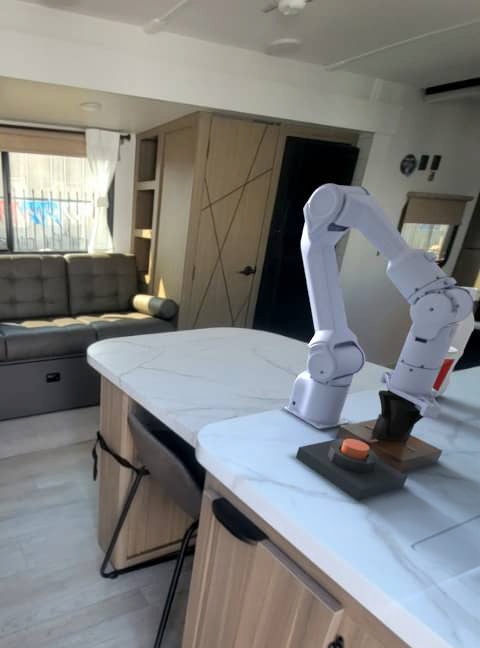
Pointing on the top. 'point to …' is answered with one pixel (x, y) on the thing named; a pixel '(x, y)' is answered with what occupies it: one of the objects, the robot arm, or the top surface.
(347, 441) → the orange push button
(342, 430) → the panel
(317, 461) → the grey button base plate
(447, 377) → the water bottle
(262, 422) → the top surface
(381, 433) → the lock knob
